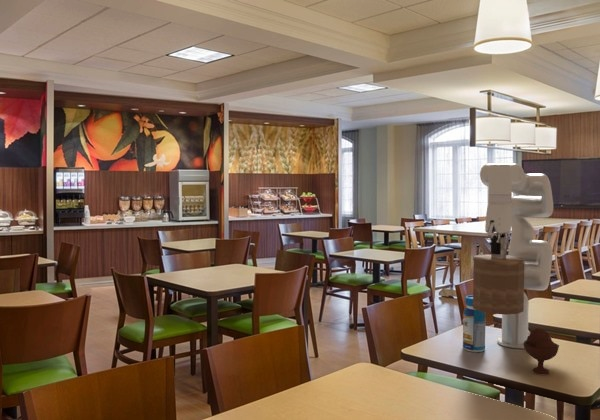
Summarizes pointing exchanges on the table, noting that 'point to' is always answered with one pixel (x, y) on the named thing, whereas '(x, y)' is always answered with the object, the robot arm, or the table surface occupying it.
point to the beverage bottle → (473, 327)
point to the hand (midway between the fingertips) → (498, 252)
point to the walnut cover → (498, 282)
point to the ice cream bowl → (540, 348)
